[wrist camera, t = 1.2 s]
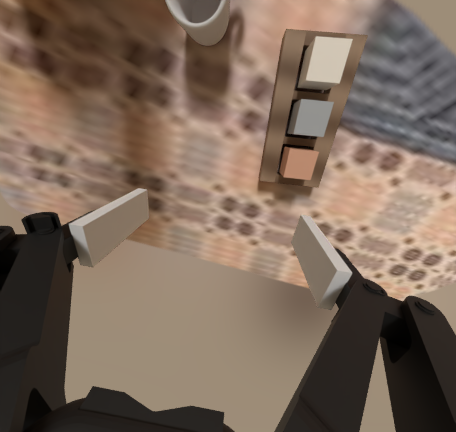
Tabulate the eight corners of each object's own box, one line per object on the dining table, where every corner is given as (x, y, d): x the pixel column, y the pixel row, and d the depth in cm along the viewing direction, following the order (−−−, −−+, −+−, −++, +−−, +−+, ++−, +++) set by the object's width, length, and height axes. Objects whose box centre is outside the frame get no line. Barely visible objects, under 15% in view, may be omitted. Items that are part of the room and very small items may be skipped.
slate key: (293, 103, 29) (301, 98, 25) (321, 106, 28) (334, 102, 24) (287, 133, 31) (293, 133, 26) (313, 136, 30) (323, 136, 26)
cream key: (305, 51, 26) (316, 36, 22) (336, 53, 26) (352, 39, 22) (297, 87, 28) (305, 80, 24) (325, 90, 28) (339, 83, 23)
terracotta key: (284, 146, 31) (290, 148, 27) (309, 149, 31) (319, 151, 27) (279, 171, 33) (283, 177, 29) (302, 174, 33) (310, 180, 29)
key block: (282, 39, 27) (286, 29, 25) (355, 44, 27) (367, 35, 24) (258, 177, 37) (259, 180, 34) (313, 183, 36) (318, 187, 33)
